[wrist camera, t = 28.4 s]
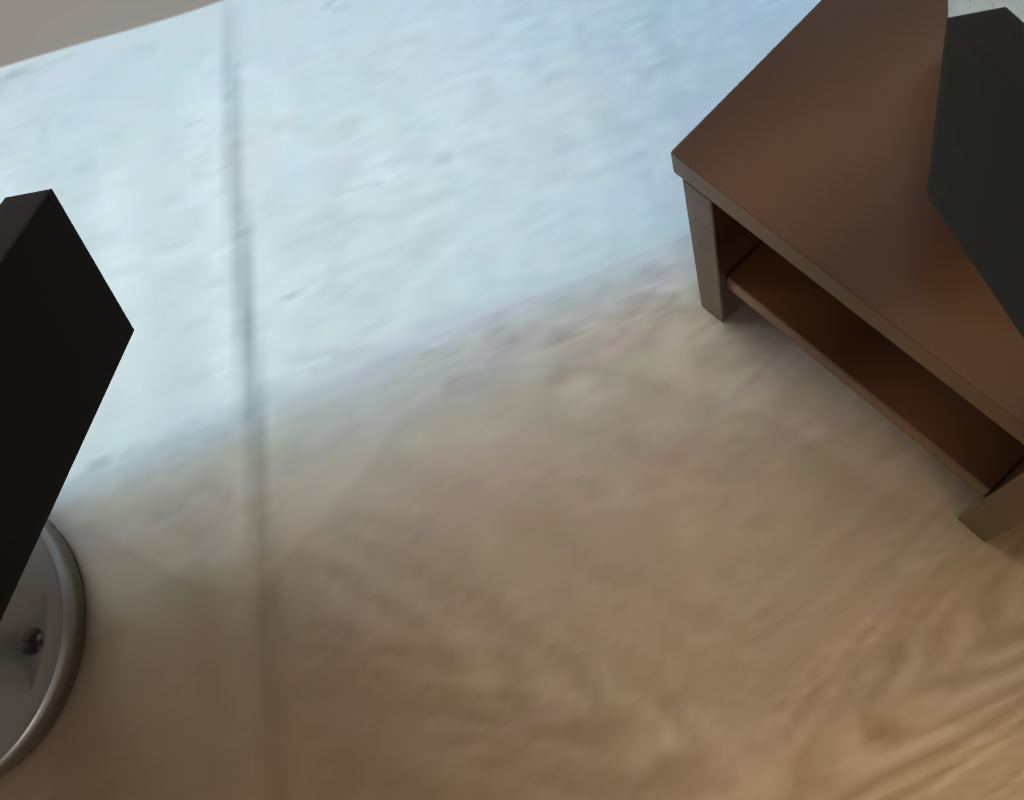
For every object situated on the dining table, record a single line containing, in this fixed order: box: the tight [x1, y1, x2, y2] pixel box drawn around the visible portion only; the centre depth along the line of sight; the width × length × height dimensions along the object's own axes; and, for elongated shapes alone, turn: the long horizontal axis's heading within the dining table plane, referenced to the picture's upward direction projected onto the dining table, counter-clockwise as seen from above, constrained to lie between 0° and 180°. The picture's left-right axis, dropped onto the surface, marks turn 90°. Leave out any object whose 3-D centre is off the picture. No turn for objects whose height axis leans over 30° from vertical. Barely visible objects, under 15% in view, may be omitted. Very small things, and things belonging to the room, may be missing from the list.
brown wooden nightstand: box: [671, 0, 1024, 541], centre depth 36 cm, size 17×16×14 cm
